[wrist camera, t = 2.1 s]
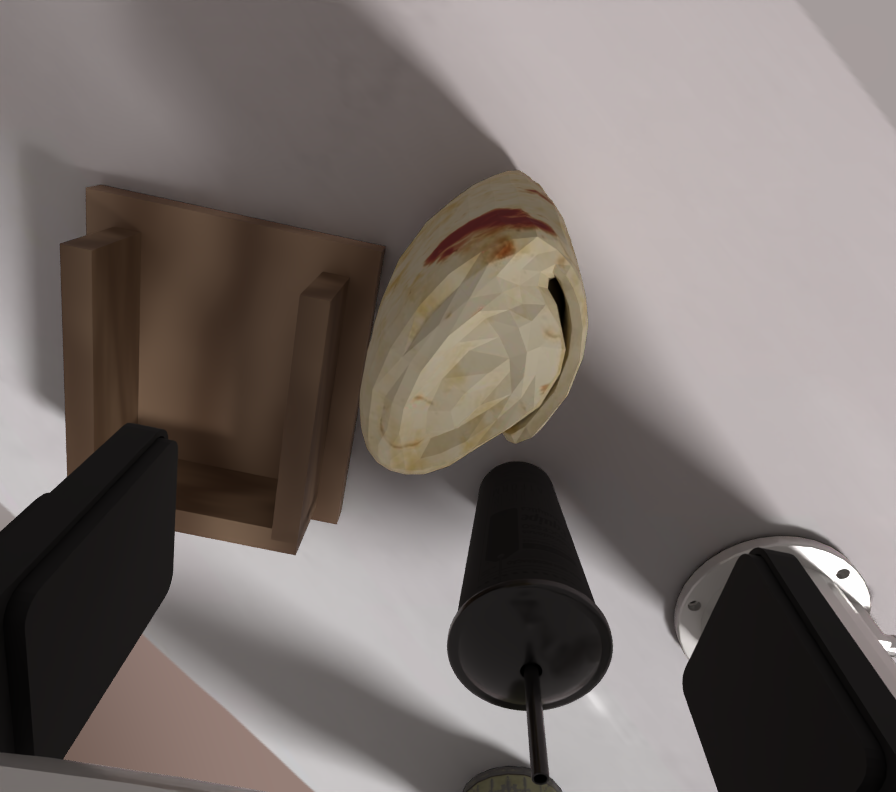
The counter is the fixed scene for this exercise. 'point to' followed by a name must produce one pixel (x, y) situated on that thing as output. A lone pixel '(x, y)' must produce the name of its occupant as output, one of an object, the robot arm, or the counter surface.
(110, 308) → the dock
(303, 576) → the counter surface
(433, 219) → the food model
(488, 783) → the thermos
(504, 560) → the drinking cup
